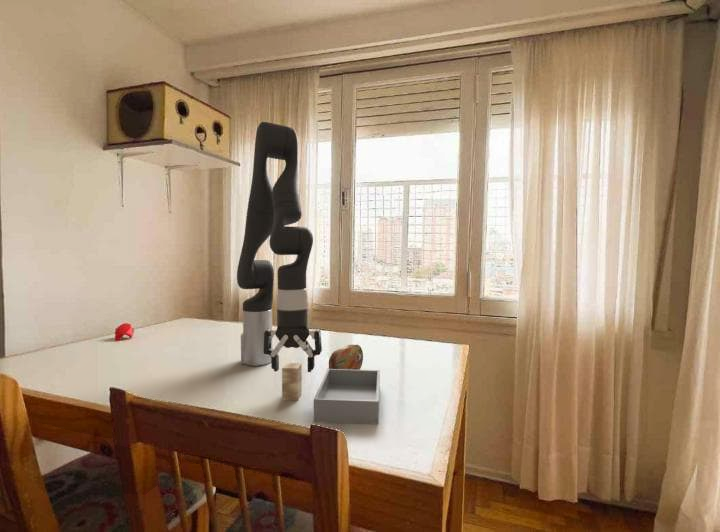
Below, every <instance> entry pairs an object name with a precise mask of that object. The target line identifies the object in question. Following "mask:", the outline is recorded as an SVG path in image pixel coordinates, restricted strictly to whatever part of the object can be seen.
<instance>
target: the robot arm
mask: <svg viewBox="0 0 720 532" xmlns="http://www.w3.org/2000/svg"><path fill="white" fill-rule="evenodd" d="M254 138H255V141H254V154H253V168H252V178H251V184H250V191H249V197H248V203H247V210H246V216H245V217H246V218H245V227H244V236H243V241H242V248H241V251H240V256H239V261H238V264H237V269H236V270H237V272H236V282H237V285H238V287H239V288H240V289H242V290H256V289H258V292H257V293H256V294H255V295H253V296H251V297H250V298H247V299H246V300H244V301H243V302H242V333H241V334H240V364H242V365H246V366H253V367H257V366H264V365H265V366H266V365H268V364H271V367H270V368H271V369H272V370H273V372H278V371H279V369H280V367H279V366H280V361H279V359H280V358H279V357H280V355H279V353H280V351H281V350H282V348H285V349H289V348H290V349H291V348H294V349H299V348H301V350H302V351H304V352H305V353H306V355H307V373H312V371H313V370H314V368H315V357H316V356H320V355H321V353H322V351H323V349H322V348H323V346H322V335H321V334H322V333H321V330H320V329H315V330H310V329H309V327H308V326H309V325H308V324H309V322H308V317H309V314H308V312H309V311H308V309H309V308H308V306H309V302H308V292H307V268H308V264H309V260H310V255H311V252H312V248H313V245H314V236H313V233H312V231H311V229H309V228H308V227H307V226H289V225H293V224H296V223H297V222H299V221H300V220H301V219H302V216H303V215H302V212H303V211H302V206H301V199H300V192H299V138H298V134H297V132H296V129H294V128H293V127H290V126H287V125H282V124H276V123H272V122H267V121H261V122H260V123H259V124H258V126H257V129H256V133H255V137H254ZM268 159H274V160H280V161H285V166H284V169H283V171H282V173H280V175H279V177H278V178H277V179H276V181H275V183H274V184H273V183H272V182H271V178H270V176H269V173H268ZM268 238H269V248H270V250H271V251H272V252H273V254H275V255H277V256H296V255H297V256H296V258H295V260H294V261H293V262H291V263H288V264H282V265H280V266H279V267H278V268H277V293H276V321H277V322H276V326H277V327H276V329H273V301H274V279H275V278H274V277H275V274H274V273H275V272H274V271H275V270H274V266H273V263H272V262H271V261H270V260H268V259H267V260H266V259H258V260H257V259H256V255H257V253H258V251H259V250H260V248H261V246H262V245H263V244H264V243H265V242H266V241H267V240H268ZM255 259H256V260H255ZM309 336H310V337H311V339H312V340H314V349H313V347H312V345H311V344H310V342H309V341H308V340H307V339H308V338H309ZM274 337H276V338H277V340H278V343H277V344H276V346H275V347H274V348H273V339H274Z"/></svg>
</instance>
